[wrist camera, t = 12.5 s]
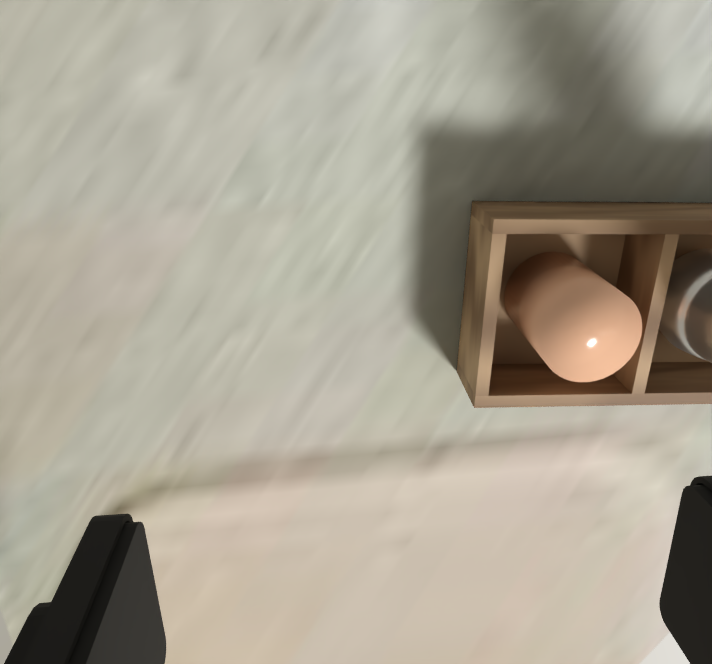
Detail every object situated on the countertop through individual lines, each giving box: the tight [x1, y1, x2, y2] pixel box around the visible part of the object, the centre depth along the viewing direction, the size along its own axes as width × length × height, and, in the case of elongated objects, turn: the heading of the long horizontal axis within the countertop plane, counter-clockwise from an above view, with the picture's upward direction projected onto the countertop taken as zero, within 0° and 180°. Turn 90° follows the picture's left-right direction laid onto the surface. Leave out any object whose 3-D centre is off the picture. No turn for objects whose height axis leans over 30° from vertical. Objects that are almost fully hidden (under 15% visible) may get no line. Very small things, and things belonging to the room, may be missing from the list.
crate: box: [457, 201, 712, 408], centre depth 40 cm, size 12×20×5 cm, turn 89°
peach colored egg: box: [504, 251, 642, 382], centre depth 38 cm, size 6×6×7 cm
